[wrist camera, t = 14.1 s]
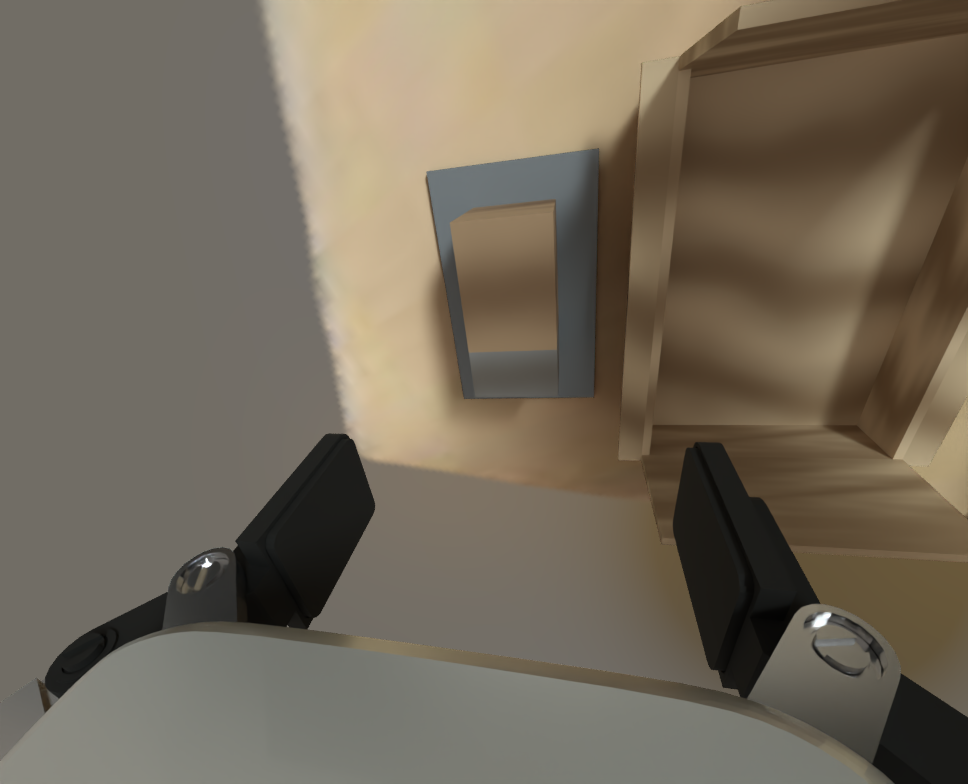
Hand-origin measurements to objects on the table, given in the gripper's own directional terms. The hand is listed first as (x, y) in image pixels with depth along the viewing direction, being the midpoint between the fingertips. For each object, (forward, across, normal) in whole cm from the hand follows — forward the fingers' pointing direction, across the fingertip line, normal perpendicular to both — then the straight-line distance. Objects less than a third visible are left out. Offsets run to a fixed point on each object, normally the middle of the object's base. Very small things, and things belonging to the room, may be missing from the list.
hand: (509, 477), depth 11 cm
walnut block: (+18, +2, 0) cm, 18 cm away
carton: (+19, -14, 0) cm, 23 cm away
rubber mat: (+18, +2, 0) cm, 18 cm away
